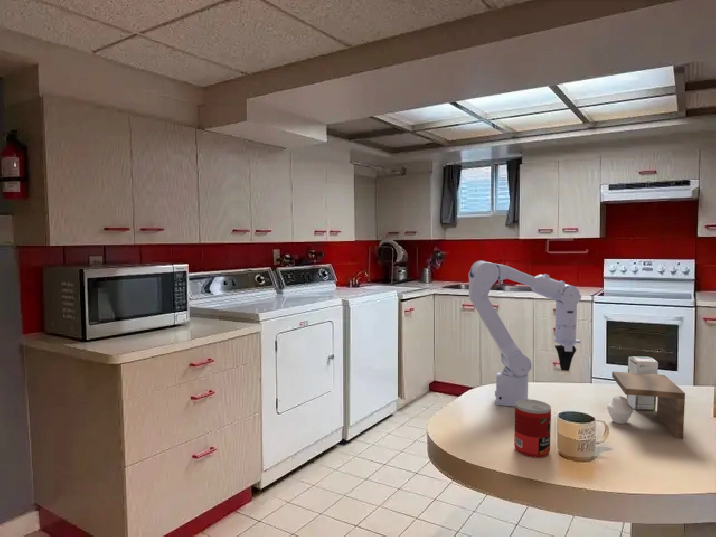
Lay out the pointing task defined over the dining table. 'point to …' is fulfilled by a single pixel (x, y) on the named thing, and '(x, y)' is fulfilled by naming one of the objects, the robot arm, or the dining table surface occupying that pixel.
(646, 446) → the dining table surface
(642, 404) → the syrup box
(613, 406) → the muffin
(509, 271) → the robot arm
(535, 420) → the canned food
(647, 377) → the walnut shelf
